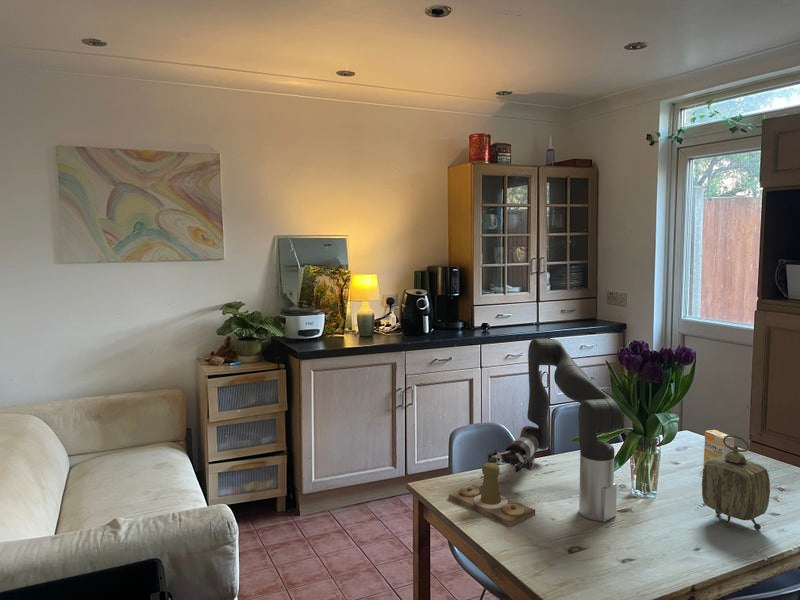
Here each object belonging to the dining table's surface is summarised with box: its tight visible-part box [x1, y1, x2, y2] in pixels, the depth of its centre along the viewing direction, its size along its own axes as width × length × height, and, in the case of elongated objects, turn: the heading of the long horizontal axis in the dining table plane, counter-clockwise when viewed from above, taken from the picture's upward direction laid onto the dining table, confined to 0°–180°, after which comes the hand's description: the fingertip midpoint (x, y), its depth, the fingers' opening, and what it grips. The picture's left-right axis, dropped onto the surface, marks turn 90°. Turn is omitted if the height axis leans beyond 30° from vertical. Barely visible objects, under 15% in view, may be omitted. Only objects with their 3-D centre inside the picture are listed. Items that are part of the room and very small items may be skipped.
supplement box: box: [702, 429, 735, 468], centre depth 201 cm, size 8×5×13 cm, turn 17°
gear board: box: [448, 484, 536, 527], centre depth 175 cm, size 24×11×3 cm, turn 40°
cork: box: [481, 462, 502, 505], centre depth 175 cm, size 6×6×11 cm
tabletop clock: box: [701, 434, 771, 531], centre depth 162 cm, size 14×9×25 cm, turn 32°
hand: (503, 467), depth 184 cm, fingers open, 8 cm apart
